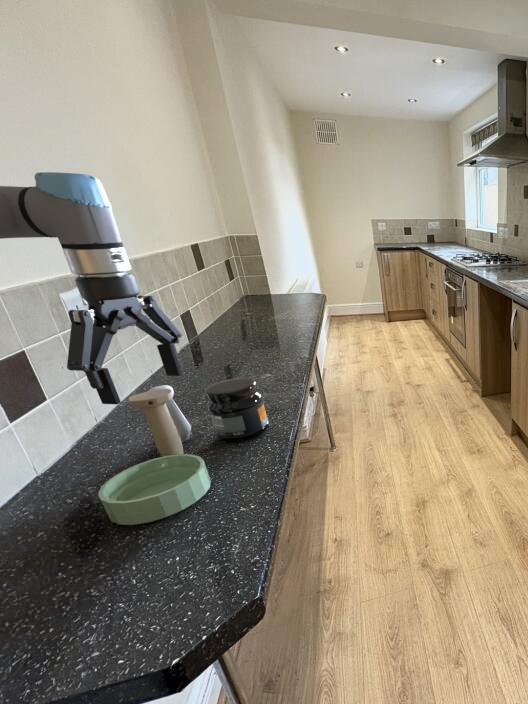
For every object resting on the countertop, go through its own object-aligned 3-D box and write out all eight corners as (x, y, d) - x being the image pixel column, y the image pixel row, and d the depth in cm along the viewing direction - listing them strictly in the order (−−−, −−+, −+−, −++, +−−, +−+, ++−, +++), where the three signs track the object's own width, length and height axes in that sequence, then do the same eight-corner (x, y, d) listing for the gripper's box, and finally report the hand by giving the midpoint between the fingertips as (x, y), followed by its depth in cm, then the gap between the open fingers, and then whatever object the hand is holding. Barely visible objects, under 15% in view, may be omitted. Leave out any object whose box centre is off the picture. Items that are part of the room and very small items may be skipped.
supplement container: (274, 419, 101) (262, 374, 97) (265, 440, 92) (251, 391, 87) (225, 426, 98) (210, 379, 94) (210, 448, 89) (194, 398, 84)
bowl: (86, 526, 67) (73, 501, 65) (159, 475, 80) (150, 453, 78) (168, 529, 66) (158, 504, 64) (229, 477, 79) (222, 455, 77)
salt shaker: (191, 431, 96) (173, 380, 91) (196, 440, 92) (178, 387, 87) (160, 440, 92) (139, 387, 87) (163, 450, 88) (142, 395, 83)
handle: (157, 460, 85) (130, 394, 79) (195, 450, 88) (172, 387, 82) (154, 471, 81) (126, 403, 75) (194, 461, 84) (170, 395, 78)
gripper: (44, 286, 58) (100, 418, 66) (183, 266, 81) (212, 366, 89) (-6, 285, 59) (56, 417, 67) (146, 265, 82) (179, 365, 90)
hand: (145, 388), depth 78 cm, fingers open, 13 cm apart
